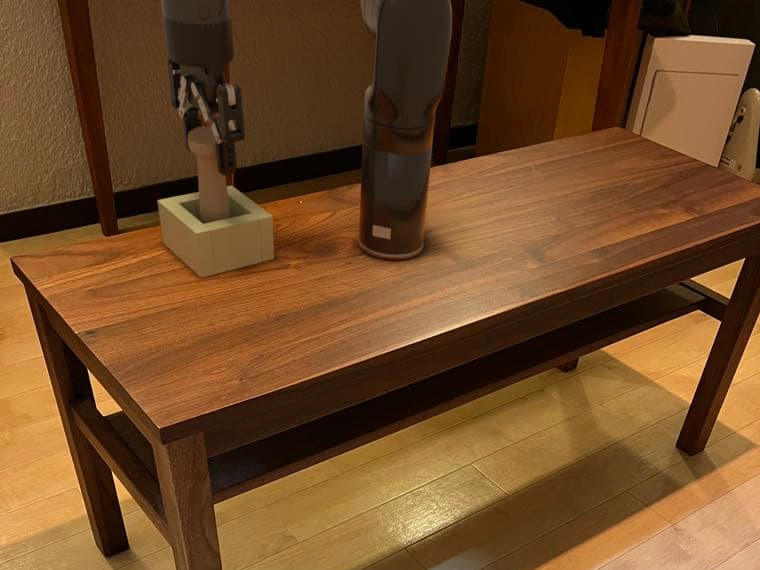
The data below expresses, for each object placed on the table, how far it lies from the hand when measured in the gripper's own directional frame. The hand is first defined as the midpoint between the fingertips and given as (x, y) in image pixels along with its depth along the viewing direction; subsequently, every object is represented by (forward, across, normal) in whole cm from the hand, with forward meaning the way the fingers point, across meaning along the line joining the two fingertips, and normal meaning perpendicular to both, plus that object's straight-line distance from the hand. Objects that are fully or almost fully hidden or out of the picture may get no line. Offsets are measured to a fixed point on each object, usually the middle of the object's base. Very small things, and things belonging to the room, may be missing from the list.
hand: (210, 161), depth 101 cm
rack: (+12, 0, 0) cm, 12 cm away
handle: (+12, 0, 0) cm, 12 cm away
